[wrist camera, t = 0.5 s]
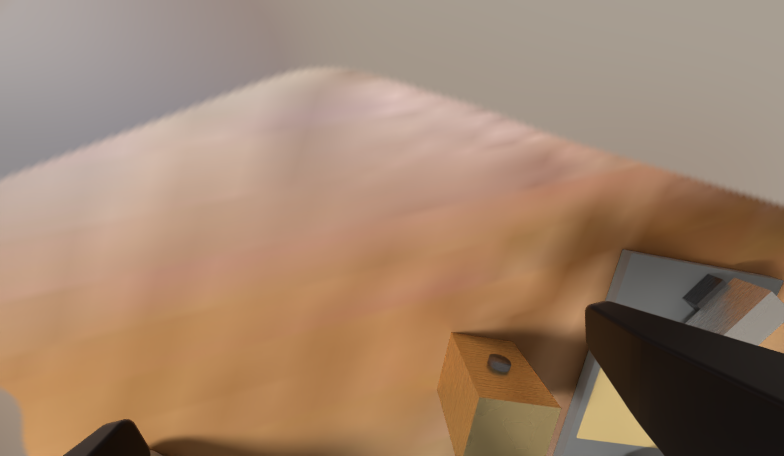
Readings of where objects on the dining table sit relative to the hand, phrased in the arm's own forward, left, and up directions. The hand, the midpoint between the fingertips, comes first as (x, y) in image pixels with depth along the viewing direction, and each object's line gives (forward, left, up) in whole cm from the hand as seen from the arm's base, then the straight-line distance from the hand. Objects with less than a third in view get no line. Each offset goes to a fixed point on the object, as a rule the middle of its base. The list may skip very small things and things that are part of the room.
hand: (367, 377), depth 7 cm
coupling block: (-8, -8, -14) cm, 18 cm away
